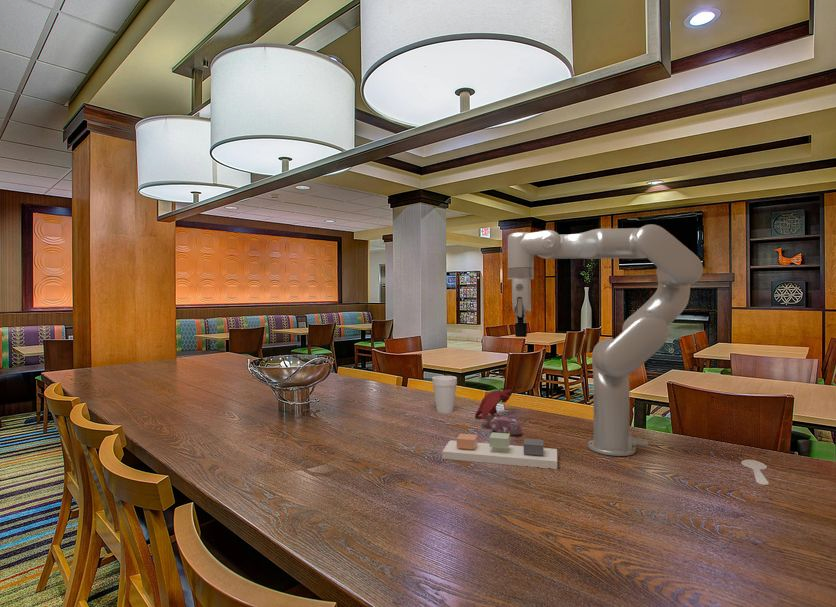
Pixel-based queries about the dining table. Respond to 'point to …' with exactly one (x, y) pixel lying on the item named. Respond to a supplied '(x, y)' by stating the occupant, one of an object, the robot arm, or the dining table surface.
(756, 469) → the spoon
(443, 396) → the foam cup
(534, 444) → the charcoal key
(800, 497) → the dining table surface
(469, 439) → the terracotta key
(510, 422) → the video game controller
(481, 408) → the decorative bird sculpture
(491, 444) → the sage key
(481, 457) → the keypad base
